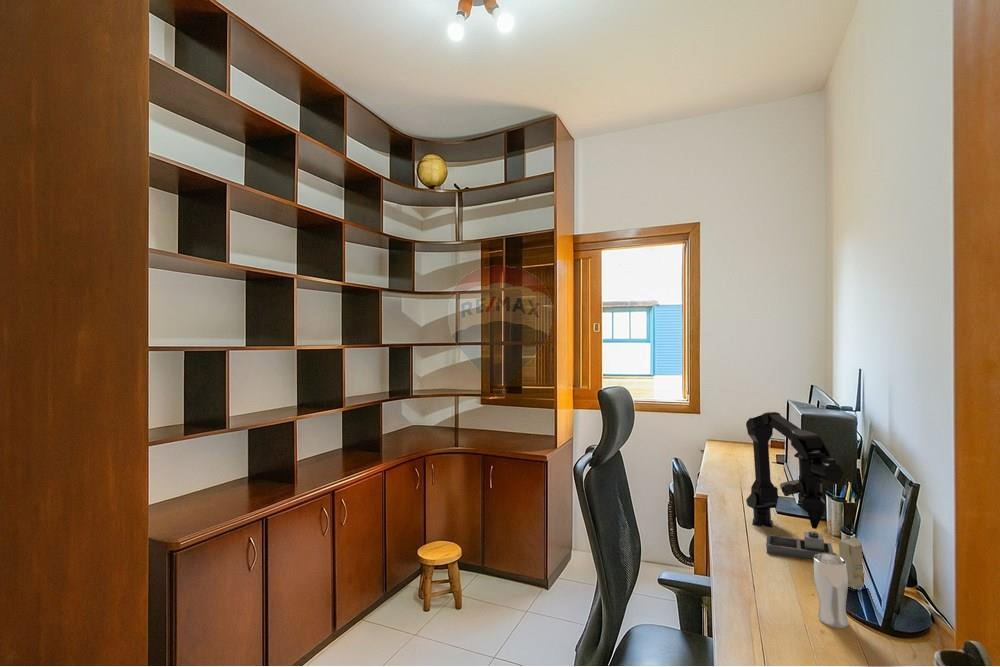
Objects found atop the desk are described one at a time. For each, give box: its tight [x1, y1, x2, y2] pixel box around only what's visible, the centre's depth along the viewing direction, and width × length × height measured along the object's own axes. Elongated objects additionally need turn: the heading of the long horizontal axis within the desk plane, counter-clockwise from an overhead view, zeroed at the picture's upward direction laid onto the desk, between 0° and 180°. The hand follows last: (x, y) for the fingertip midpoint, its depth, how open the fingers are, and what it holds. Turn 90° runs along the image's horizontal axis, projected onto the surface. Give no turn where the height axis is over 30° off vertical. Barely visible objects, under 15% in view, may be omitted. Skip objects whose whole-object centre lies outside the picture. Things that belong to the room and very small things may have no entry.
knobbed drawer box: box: [803, 531, 825, 553], centre depth 152 cm, size 5×5×7 cm
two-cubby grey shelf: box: [765, 533, 834, 561], centre depth 154 cm, size 10×18×2 cm, turn 59°
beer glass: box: [812, 552, 850, 629], centre depth 117 cm, size 7×7×15 cm
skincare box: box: [838, 537, 864, 589], centre depth 132 cm, size 6×4×12 cm
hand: (813, 523), depth 152 cm, fingers open, 9 cm apart
